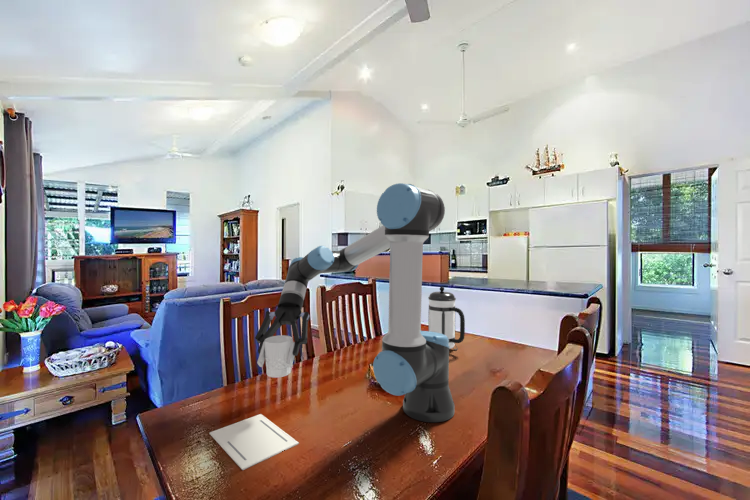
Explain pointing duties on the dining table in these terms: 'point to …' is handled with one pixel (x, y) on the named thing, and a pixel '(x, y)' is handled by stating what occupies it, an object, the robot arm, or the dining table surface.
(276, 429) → the paper sheet
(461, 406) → the dining table surface
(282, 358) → the white cup
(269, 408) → the dining table surface
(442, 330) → the coffee press
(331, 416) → the dining table surface
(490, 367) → the dining table surface
